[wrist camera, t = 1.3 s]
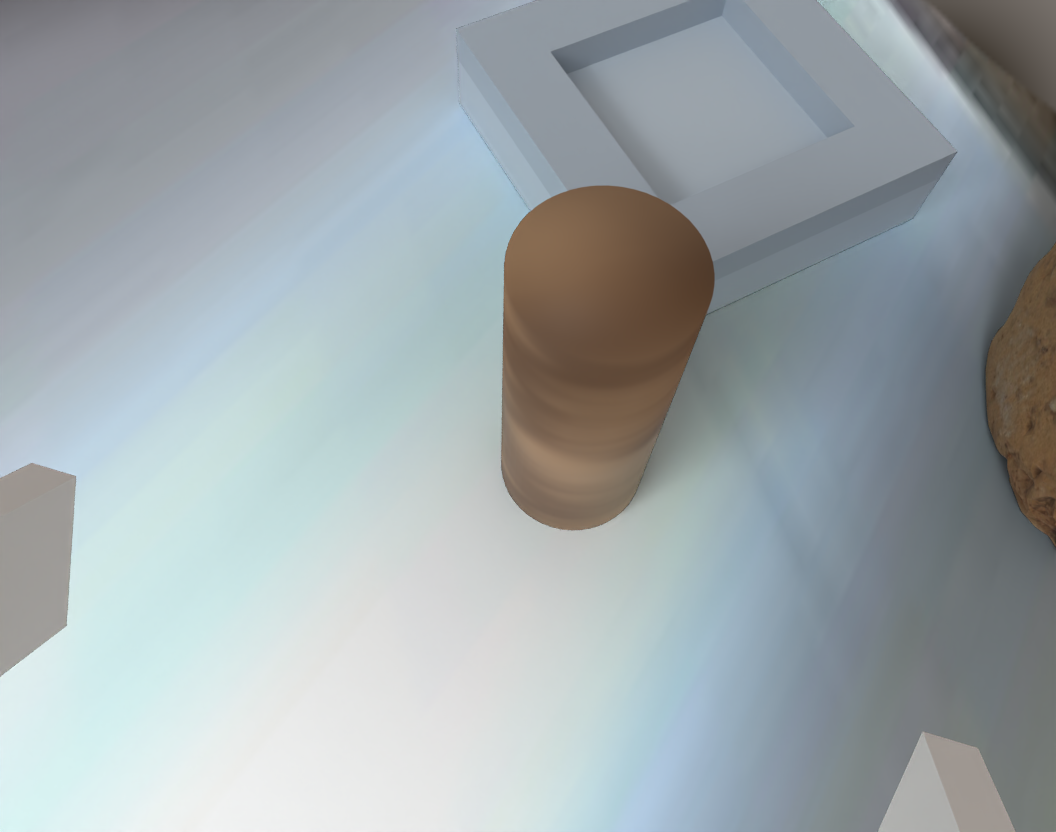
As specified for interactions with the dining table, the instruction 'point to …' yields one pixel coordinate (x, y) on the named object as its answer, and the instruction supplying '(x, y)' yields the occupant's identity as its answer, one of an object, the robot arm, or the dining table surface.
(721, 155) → the slab
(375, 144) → the dining table surface
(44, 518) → the robot arm
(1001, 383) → the block
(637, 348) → the post
